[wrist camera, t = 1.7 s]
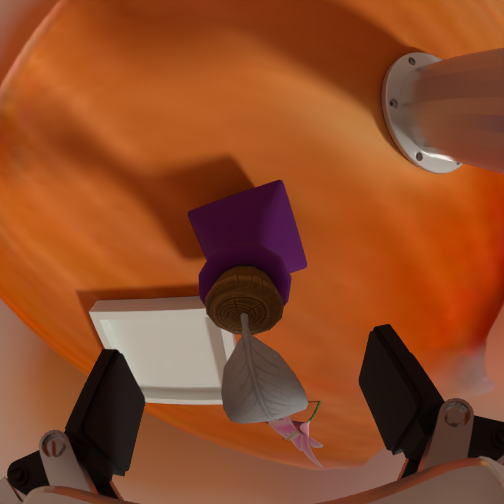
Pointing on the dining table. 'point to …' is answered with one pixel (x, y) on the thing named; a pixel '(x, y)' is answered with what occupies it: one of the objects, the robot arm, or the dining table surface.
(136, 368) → the tray
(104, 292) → the dining table surface
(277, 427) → the lily
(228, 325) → the perfume bottle
